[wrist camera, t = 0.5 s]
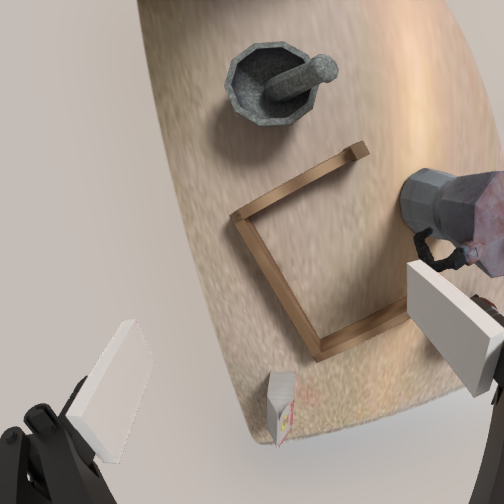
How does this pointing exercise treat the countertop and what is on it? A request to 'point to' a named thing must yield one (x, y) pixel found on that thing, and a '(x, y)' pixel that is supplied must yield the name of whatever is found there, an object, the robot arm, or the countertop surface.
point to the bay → (254, 242)
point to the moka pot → (457, 217)
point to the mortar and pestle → (276, 82)
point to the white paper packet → (280, 404)
